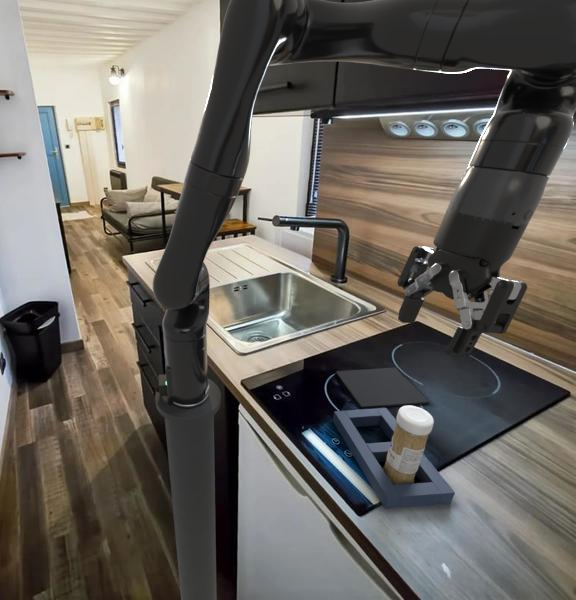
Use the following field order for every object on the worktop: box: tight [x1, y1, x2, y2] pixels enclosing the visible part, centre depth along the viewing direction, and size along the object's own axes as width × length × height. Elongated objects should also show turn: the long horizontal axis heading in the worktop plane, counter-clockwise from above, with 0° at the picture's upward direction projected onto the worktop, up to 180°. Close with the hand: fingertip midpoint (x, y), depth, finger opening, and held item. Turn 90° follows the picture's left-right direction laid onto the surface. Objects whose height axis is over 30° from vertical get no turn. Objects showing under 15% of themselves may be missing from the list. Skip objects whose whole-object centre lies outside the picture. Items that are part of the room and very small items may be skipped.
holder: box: [332, 407, 456, 509], centre depth 63 cm, size 10×18×2 cm, turn 2°
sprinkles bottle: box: [382, 405, 435, 485], centre depth 57 cm, size 5×5×14 cm
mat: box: [335, 367, 430, 409], centre depth 80 cm, size 14×12×1 cm
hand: (428, 337), depth 48 cm, fingers open, 8 cm apart
